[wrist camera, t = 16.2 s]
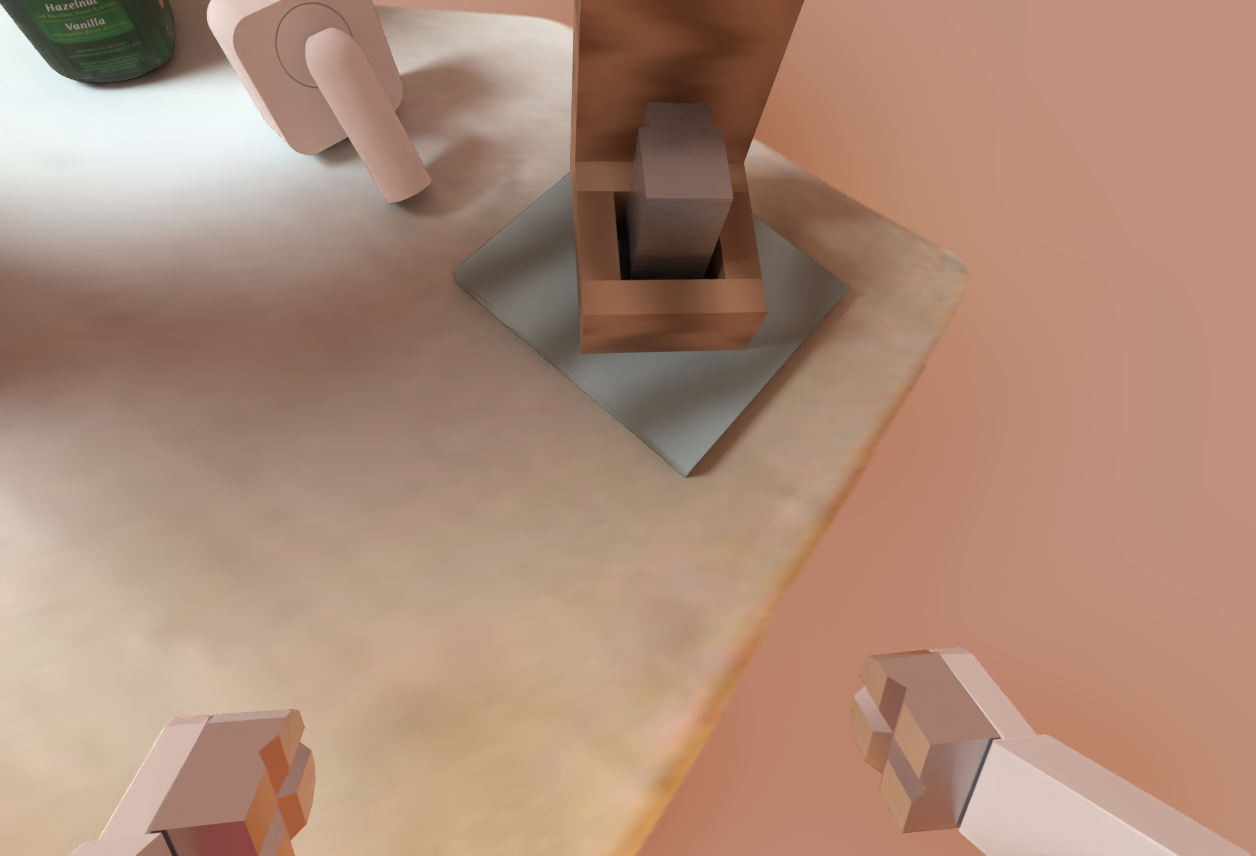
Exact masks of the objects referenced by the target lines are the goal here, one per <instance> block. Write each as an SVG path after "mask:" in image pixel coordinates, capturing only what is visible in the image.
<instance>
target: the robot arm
mask: <svg viewBox="0 0 1256 856" xmlns="http://www.w3.org/2000/svg"><path fill="white" fill-rule="evenodd" d="M859 676H860V678H861V679H862V681H863V683H864V685H865V686H864V687H863V688H862V689H861V690H860V691H859V692H858V693H856V694H855V696H854V698H853V703H852V708H851V719H852V728H853V733H854V736H855V739H856V742H857V746H858V748H859V750H860V752H861V754H862V756H863V758H864V760H865V762H867V763H868V764H870V765H871V766H872V767H873V768H875V769H876V770H877V771H879V772H880V773H881V774H882V778H881V784H880V791H881V793H882V795H883V797H884V799H885V801H886V803H887V805H888V807H889V809H890V811H891V813H892V815H893V816H894V818H895V820H896V822H897V824H898V826H899V828H900V830H901V832H902V833H910V832H921V831H931V830H942V829H952V828H960V829H959V832H960V833H961V834H962V835H964V836H965V837H966V838H967V839H968V840H969V841H970V842H972V843H973V844H974V845H975V846H976V847H977V848H978V849H980V850H981V851H982V852H983V853H984V854H985V855H986V856H1251V855H1250V854H1249V853H1248V852H1247V851H1246V850H1244V849H1242V848H1240V847H1239V846H1237V845H1235V844H1234V843H1232V842H1230V841H1229V840H1227V839H1225V838H1224V837H1222V836H1220V835H1218V834H1217V833H1215V832H1213V831H1211V830H1210V829H1208V828H1206V827H1205V826H1203V825H1201V824H1200V823H1198V822H1196V821H1195V820H1193V819H1191V818H1189V817H1188V816H1186V815H1184V814H1182V813H1181V812H1179V811H1177V810H1176V809H1174V808H1172V807H1171V806H1169V805H1167V804H1166V803H1164V802H1162V801H1160V800H1158V799H1157V798H1155V797H1154V796H1152V795H1150V794H1148V793H1147V792H1145V791H1143V790H1142V789H1140V788H1138V787H1137V786H1135V785H1133V784H1131V783H1130V782H1128V781H1126V780H1125V779H1123V778H1121V777H1119V776H1118V775H1116V774H1114V773H1113V772H1111V771H1109V770H1107V769H1106V768H1104V767H1102V766H1101V765H1099V764H1097V763H1096V762H1094V761H1092V760H1090V759H1089V758H1087V757H1085V756H1084V755H1082V754H1080V753H1079V752H1077V751H1075V750H1073V749H1072V748H1070V747H1068V746H1067V745H1065V744H1063V743H1061V742H1060V741H1058V740H1056V739H1055V738H1053V737H1051V736H1049V735H1048V734H1043V735H1037V734H1036V732H1035V731H1034V730H1033V729H1032V727H1031V726H1030V725H1029V724H1028V723H1027V721H1026V720H1025V719H1024V718H1023V716H1022V715H1021V714H1020V713H1019V711H1018V710H1017V709H1016V708H1015V707H1014V705H1013V704H1012V703H1011V702H1010V700H1009V699H1008V698H1007V697H1006V695H1005V694H1004V693H1003V692H1002V690H1001V689H1000V688H999V687H998V686H997V684H996V683H995V682H994V680H993V679H992V678H991V677H990V676H989V674H988V673H987V672H986V671H985V669H984V668H983V667H982V666H981V664H980V663H979V662H978V661H977V659H976V658H975V657H974V656H973V655H972V653H971V652H970V651H968V650H966V649H965V648H963V647H953V648H943V649H933V650H929V651H928V650H919V651H911V652H901V653H891V654H881V655H872V656H867V657H866V658H865V659H864V661H863V662H862V664H861V668H860V672H859ZM304 728H305V727H304V724H303V721H302V718H301V715H300V712H299V710H294V709H288V710H273V711H257V712H242V713H227V714H216V715H205V716H191V717H177V718H174V719H173V720H172V721H171V722H170V723H169V724H168V725H166V726H165V727H164V728H163V730H162V731H161V733H160V735H159V736H158V738H157V740H156V742H155V743H154V745H153V747H152V748H151V750H150V752H149V753H148V755H147V757H146V759H145V760H144V762H143V764H142V765H141V767H140V769H139V771H138V772H137V774H136V776H135V777H134V779H133V781H132V782H131V784H130V786H129V788H128V789H127V791H126V793H125V794H124V796H123V798H122V800H121V801H120V803H119V805H118V806H117V808H116V810H115V811H114V813H113V815H112V817H111V818H110V820H109V822H108V823H107V825H106V827H105V829H104V830H103V832H102V834H101V835H100V837H99V839H95V840H88V841H84V842H83V843H82V844H80V845H79V846H78V847H77V848H75V849H74V850H73V851H72V852H70V853H69V854H68V855H67V856H295V854H294V851H293V848H292V845H291V842H290V841H291V840H292V839H293V838H294V837H295V836H296V834H297V833H298V832H299V831H300V830H301V829H302V828H303V827H304V826H305V825H306V824H307V820H308V817H309V813H310V810H311V806H312V803H313V795H314V787H315V764H314V759H313V755H312V751H311V749H309V748H308V747H306V746H305V745H303V744H302V743H300V739H301V736H302V734H303V731H304Z"/></svg>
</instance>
